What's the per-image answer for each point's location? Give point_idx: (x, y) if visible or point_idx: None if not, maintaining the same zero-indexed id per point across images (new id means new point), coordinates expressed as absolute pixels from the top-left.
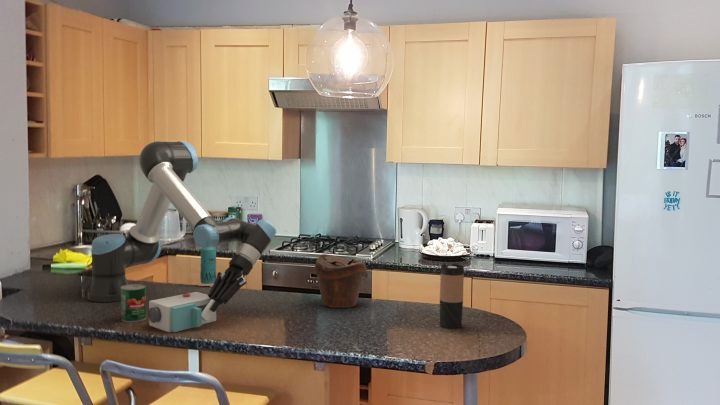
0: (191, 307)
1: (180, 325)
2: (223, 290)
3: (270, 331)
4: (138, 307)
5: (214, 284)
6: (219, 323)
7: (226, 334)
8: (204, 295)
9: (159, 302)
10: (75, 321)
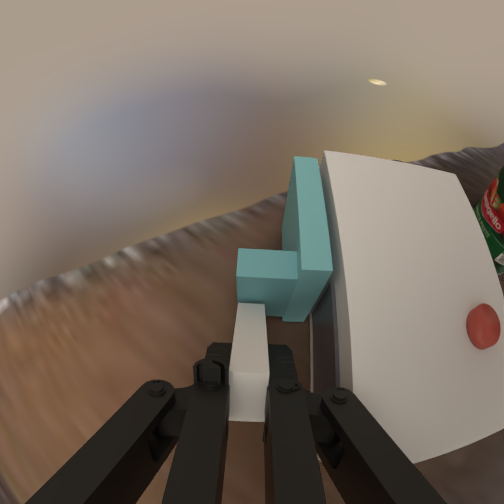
0: (297, 249)
1: (284, 237)
2: (179, 456)
3: (19, 448)
4: (485, 211)
5: (408, 481)
6: (259, 439)
7: (107, 338)
8: (443, 429)
9: (421, 177)
10: (491, 171)
